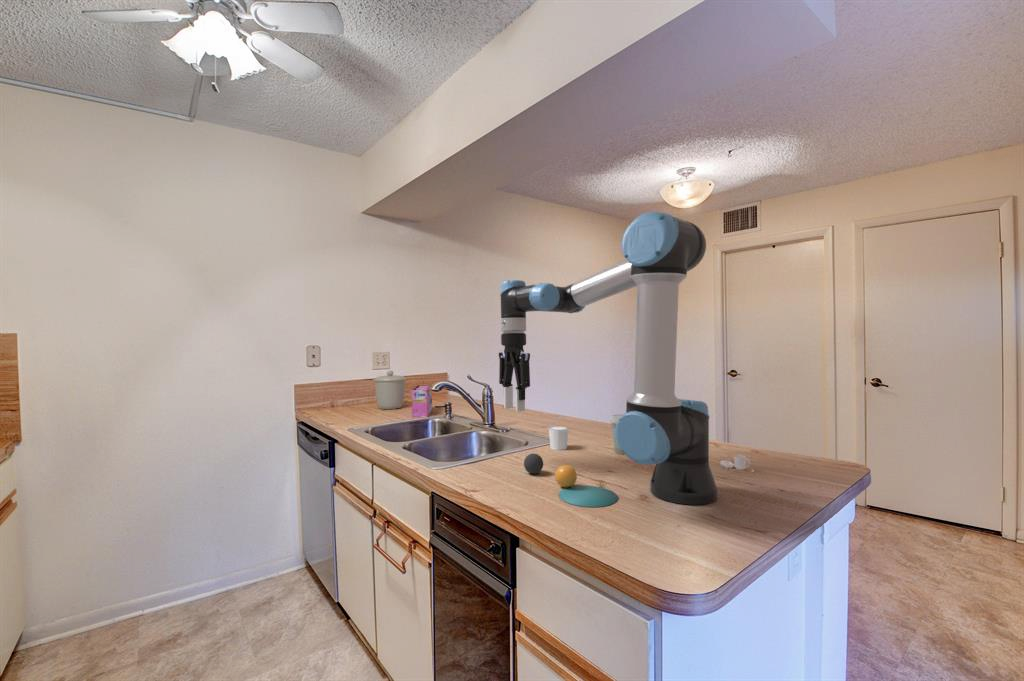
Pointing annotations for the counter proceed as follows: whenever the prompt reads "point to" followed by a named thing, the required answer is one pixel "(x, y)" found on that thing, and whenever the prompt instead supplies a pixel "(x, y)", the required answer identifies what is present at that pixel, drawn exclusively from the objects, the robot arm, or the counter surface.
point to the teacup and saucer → (736, 462)
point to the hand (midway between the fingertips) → (514, 409)
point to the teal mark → (588, 496)
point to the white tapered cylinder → (558, 437)
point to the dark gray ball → (533, 463)
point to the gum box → (421, 401)
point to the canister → (390, 390)
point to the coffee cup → (614, 423)
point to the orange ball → (566, 476)
